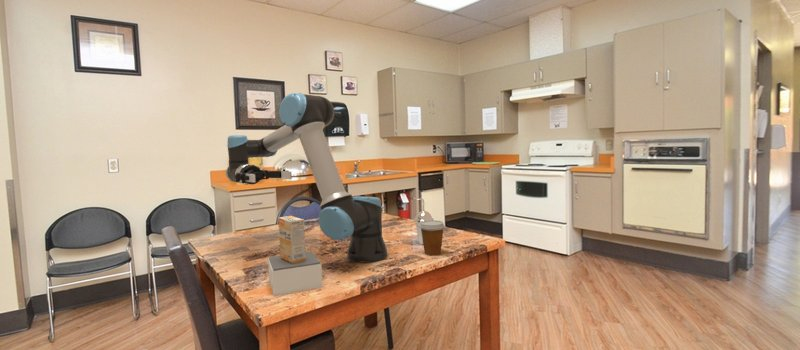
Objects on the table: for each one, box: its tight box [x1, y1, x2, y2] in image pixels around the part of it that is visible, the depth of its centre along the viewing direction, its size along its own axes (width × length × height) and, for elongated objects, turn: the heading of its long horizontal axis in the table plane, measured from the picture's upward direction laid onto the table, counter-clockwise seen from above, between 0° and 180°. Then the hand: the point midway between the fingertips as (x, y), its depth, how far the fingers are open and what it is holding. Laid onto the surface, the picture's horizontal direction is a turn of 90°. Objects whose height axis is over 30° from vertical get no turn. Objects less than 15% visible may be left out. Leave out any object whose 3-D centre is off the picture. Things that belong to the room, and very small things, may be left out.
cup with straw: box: [411, 197, 434, 245], centre depth 164 cm, size 8×9×20 cm
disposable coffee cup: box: [420, 219, 445, 256], centre depth 149 cm, size 10×10×12 cm
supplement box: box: [278, 215, 306, 264], centre depth 119 cm, size 8×5×13 cm, turn 43°
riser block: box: [267, 250, 323, 297], centre depth 120 cm, size 14×14×8 cm
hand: (273, 176), depth 137 cm, fingers open, 13 cm apart
